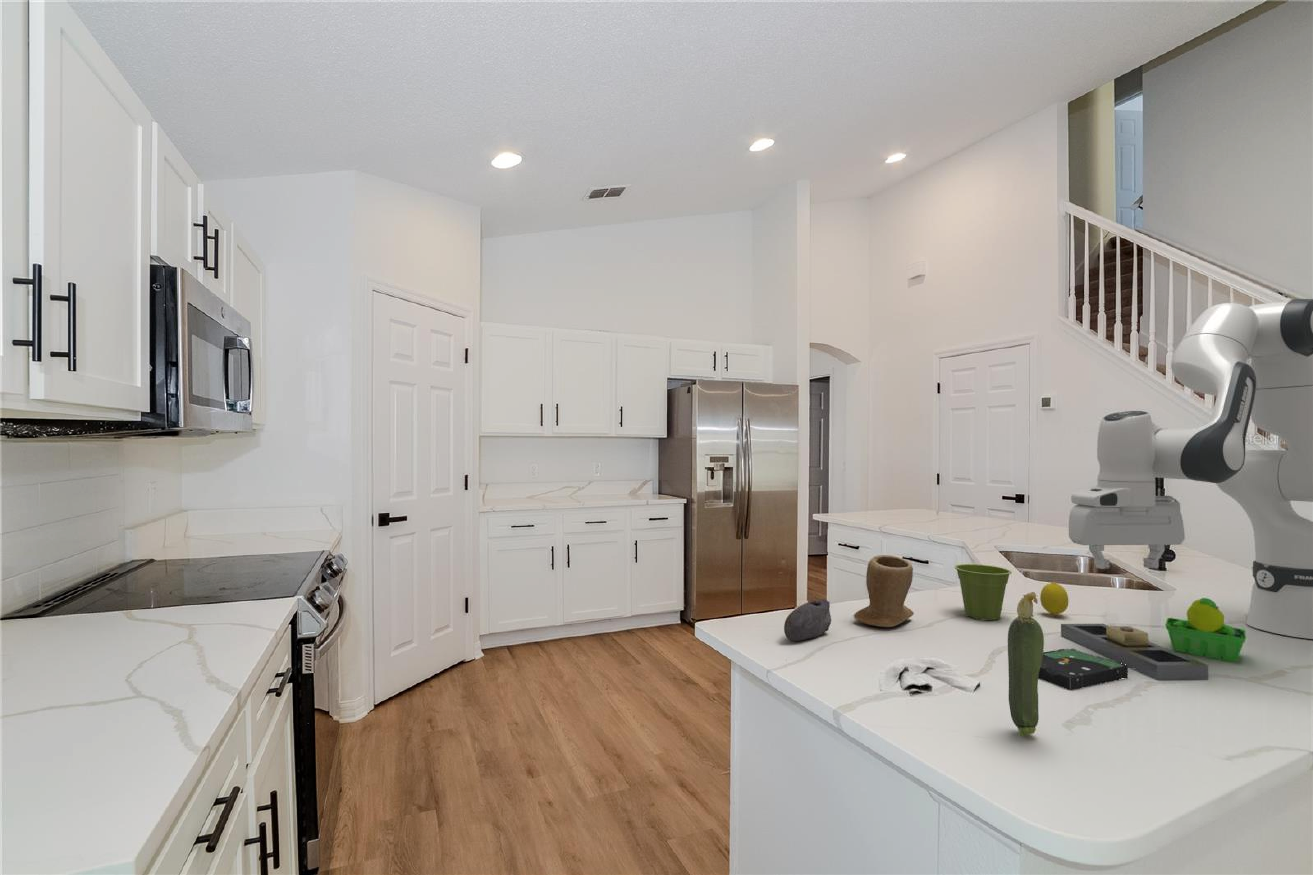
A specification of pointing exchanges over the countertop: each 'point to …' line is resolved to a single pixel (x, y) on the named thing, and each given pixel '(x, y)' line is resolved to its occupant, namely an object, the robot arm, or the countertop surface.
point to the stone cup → (887, 591)
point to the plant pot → (982, 589)
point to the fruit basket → (1205, 633)
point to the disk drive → (1079, 669)
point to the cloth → (907, 666)
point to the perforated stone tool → (808, 620)
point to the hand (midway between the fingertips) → (1126, 568)
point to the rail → (1137, 654)
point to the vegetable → (1024, 666)
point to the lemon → (1054, 598)
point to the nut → (1127, 636)
